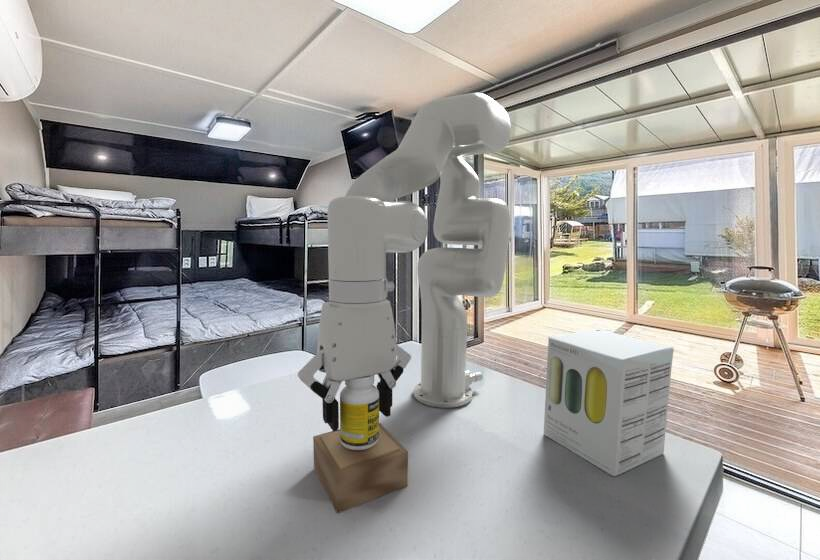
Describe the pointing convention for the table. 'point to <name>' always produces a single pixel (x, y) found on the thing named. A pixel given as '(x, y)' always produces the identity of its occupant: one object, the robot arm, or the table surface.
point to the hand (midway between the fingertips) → (358, 418)
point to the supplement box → (608, 397)
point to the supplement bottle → (359, 414)
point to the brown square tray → (359, 469)
